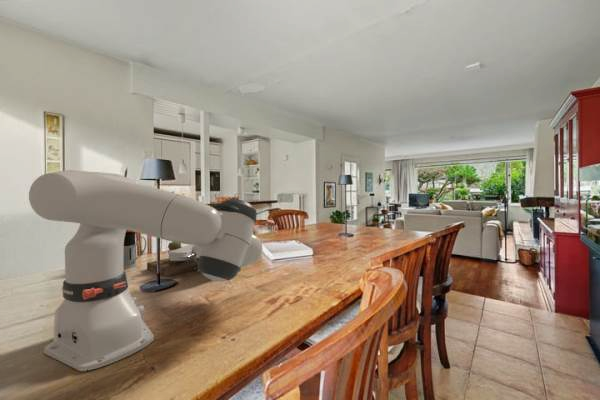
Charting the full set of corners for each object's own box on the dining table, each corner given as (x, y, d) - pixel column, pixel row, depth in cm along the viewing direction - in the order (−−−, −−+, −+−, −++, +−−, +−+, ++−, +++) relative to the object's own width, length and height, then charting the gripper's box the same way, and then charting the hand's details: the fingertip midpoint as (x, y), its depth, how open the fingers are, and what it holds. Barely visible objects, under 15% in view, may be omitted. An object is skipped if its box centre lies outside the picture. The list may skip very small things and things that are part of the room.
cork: (185, 266, 118) (184, 241, 117) (171, 269, 113) (170, 243, 113) (179, 264, 122) (178, 240, 122) (165, 266, 118) (164, 242, 117)
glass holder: (124, 263, 125) (123, 231, 124) (152, 264, 124) (152, 232, 123) (109, 268, 116) (108, 234, 116) (139, 270, 115) (139, 235, 114)
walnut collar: (201, 267, 120) (201, 260, 120) (166, 276, 107) (166, 269, 106) (181, 261, 129) (181, 255, 129) (147, 269, 116) (147, 262, 116)
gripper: (188, 265, 105) (156, 263, 107) (213, 253, 125) (186, 252, 128) (187, 249, 105) (156, 248, 107) (213, 240, 125) (186, 239, 127)
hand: (173, 250), depth 118 cm, fingers closed on cork, 4 cm apart
